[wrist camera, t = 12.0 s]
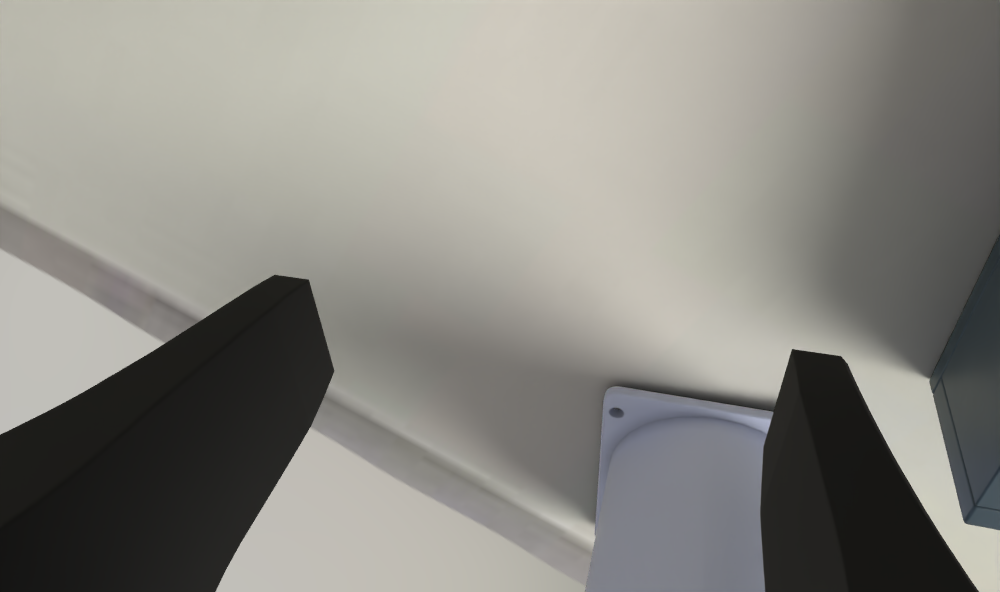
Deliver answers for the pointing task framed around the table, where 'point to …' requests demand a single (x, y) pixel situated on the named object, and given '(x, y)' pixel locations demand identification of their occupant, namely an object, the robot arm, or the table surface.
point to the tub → (974, 399)
